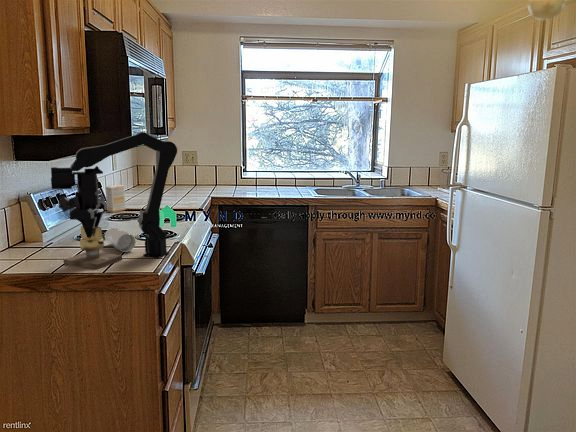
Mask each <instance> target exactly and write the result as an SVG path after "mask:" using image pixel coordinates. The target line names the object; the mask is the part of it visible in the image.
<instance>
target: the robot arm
mask: <svg viewBox="0 0 576 432" xmlns="http://www.w3.org/2000/svg"><path fill="white" fill-rule="evenodd" d="M140 146H145V147H147V148H149V149H150V150H153V151H154V152H155V166H156V167H155V171H154V176H153V179H152V183H151V187H150V192H149V197H148V199H147V204H146V205H147V206H145V207H146V208H145V209H144V210H142V209H139V217H138V219H137V223H138V226H139V229H140V230H141V231H142V232H143V233H144V235H146V236H145V241H144V250H145V251H144V252H145V253H143V256H144V257H149V258H157V259H158V258H161V257H163V256H166V255H168V254H170V251H167V233H166V232H165V230H164V229H162V227H160V224H161V223H160V221H161V216H160V208H161V205H162V200H163V199H162V198H163V195H164V190H165V186H166V183H167V178H168V175H169V174H168V173H169V170H170V168H171V166H172V165H173V163H174V161H175V158H176V157H177V153H178V147H177V145H176V144H175V143H174V142H173V141H168V140H161V139H158V138H156V137H155V136H152V135H150V134H148V132H145V131H144V132H143V131H140V132H137V133H136V134H132V135H130V136H127V137H124V138H121V139H118V140H115V141H112V142H109V143H106V144H103V145H96V146H95V145H94V146H89V147H81V148H79V149H78V150H77V151H76V153H75V160H74V161H73V162H72V164H71V165H70V167H57V166H54V167H53V166H52V167H51V168H50V174H51V177H50V184H51V190H54V191H55V190H72V189H73V188H72V187H74V186H76V178H77V191H76V192H75V194H74V195H75V196H73V197H71V198H68V197H67V196H66V197H63V198H60V199H59V202H58V208H59V209H61V210H62V212H63V213H65V212H67V211H68V210H71V209H72V210H71V211H70V212H69V214H68V215H69V220H73V221H74V220H76V221H78V222H80V223H81V226H83V228H84V230H85V233H86V235H87V237H88V238H91V236H92V233H93V229H94V227H99V225H100V222H101V220H102V218H103V216H104V213H105V211H106V210H107V201H105V200H99V195H100V193H101V191H100V190H99V188H98V177H97V176H98V175H103V174H104V172H103V170H101V169H100V167H99V166H98V165H96V164H98V163H100V162H102V161H103V160H105V159H107V158H108V157H111V156H113V155H117V154H119V153H123V152H125V151H129V150H131V149H134V148H137V147H140ZM95 165H96V166H95ZM93 166H95V167H94V168H93ZM90 167H92V168H90ZM82 169H84V171H80V170H82ZM73 208H74V209H73ZM100 210H103V211H100Z"/></svg>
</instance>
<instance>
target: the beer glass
mask: <svg viewBox="0 0 576 432" xmlns="http://www.w3.org/2000/svg"><path fill="white" fill-rule="evenodd" d="M104 240H105V242H106V243H107V244H108V245H109V244H110V245H111V246H113V248H114V249H116V250H118V251H120V252H123V253H129V252H131V251H132V250H133V249H134V248H135V246H136V243H137V242H136V238H135V236H134V235H132V233H130V232H128V231H124V230H120V229H118V228H114V227H110V228H109V229H107V230H106V232H105V233H104Z"/></svg>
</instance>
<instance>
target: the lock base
mask: <svg viewBox="0 0 576 432" xmlns="http://www.w3.org/2000/svg"><path fill="white" fill-rule="evenodd" d="M62 260H63V265H67V266H68V265H69V266H76V267H81V268H82V267H83V268H88V269H94V270H99V269H101V268H104V267H107V266H109V265H112V264H115V263H118V262H120V261H122V260H123V255H122V254H121V255H120V254H114V253H113V254H112V253H108V252H107V253H106V252H100V249H99V250H94V251H85V252H82V253H79V254H76V255H73V256H70V257H66V258H64V259H62Z"/></svg>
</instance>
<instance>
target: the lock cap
mask: <svg viewBox="0 0 576 432" xmlns="http://www.w3.org/2000/svg"><path fill="white" fill-rule="evenodd" d="M102 231H103V230H102V227H99V226H98V227H94V229H93V233H92V236H91V238H88V237H87V235H86V233H85V230H84V228H83V226H82V225H81V226H80V237H81V238H80V239H79V244H80V245H79V246H80V250H81V251H85V252H86V251H94V250H99V251H100V250H103V249H104V248H105V243H104V242H105V241H104V240H105V239H104V237H103V235H102V234H103V233H102Z"/></svg>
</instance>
